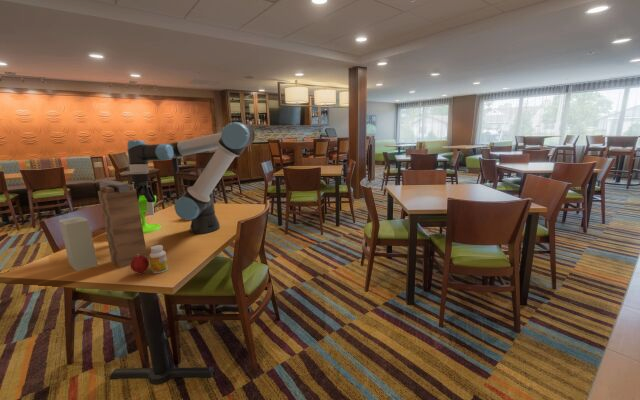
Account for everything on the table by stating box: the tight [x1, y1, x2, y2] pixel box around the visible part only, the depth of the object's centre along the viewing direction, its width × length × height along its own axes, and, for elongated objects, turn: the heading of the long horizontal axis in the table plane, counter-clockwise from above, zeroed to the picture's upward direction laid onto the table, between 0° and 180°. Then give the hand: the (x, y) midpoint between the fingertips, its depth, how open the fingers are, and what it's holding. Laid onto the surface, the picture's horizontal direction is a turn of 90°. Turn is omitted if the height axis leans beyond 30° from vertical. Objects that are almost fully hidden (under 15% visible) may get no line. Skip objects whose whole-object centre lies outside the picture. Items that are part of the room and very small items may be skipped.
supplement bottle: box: [149, 244, 169, 274], centre depth 111 cm, size 5×5×10 cm
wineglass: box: [138, 194, 162, 234], centre depth 162 cm, size 16×16×18 cm
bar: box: [98, 179, 130, 193], centre depth 117 cm, size 22×4×3 cm, turn 52°
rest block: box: [58, 216, 99, 272], centre depth 118 cm, size 10×7×19 cm
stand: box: [97, 184, 149, 268], centre depth 119 cm, size 10×10×32 cm
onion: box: [130, 254, 150, 275], centre depth 110 cm, size 6×6×8 cm
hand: (144, 217), depth 142 cm, fingers open, 13 cm apart
